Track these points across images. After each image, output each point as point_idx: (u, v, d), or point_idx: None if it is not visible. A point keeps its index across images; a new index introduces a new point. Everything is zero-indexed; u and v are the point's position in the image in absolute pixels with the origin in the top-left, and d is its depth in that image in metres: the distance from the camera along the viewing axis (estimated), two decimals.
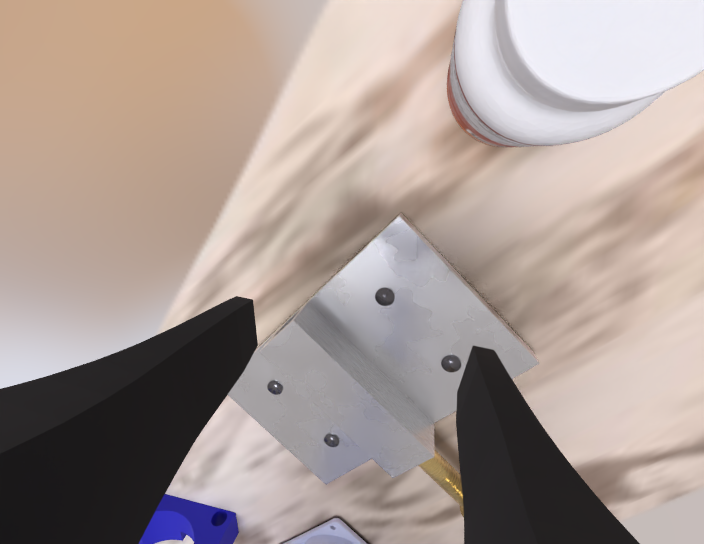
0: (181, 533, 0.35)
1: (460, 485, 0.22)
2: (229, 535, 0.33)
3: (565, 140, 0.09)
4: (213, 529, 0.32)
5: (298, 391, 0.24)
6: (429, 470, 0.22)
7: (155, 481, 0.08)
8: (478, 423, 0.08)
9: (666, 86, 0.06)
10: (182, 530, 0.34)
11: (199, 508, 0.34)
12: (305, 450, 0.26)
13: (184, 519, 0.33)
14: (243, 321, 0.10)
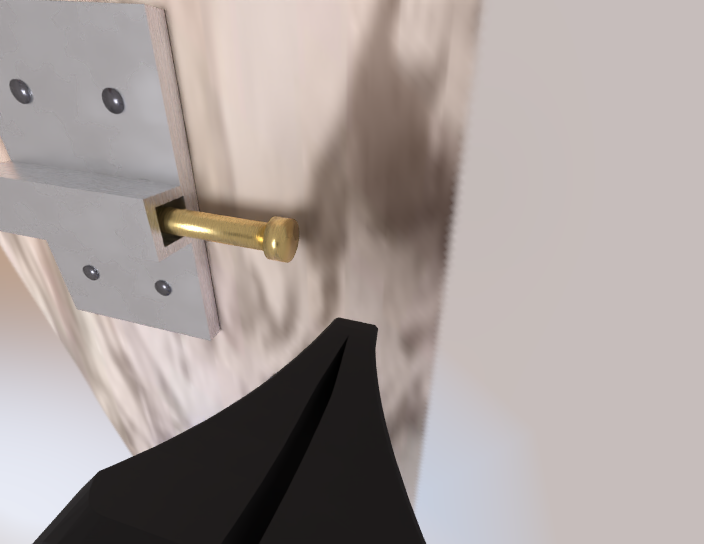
0: None
1: (230, 224, 0.17)
2: None
3: None
4: None
5: (101, 260, 0.23)
6: (189, 230, 0.18)
7: None
8: None
9: None
10: None
11: None
12: (165, 317, 0.24)
13: None
14: None
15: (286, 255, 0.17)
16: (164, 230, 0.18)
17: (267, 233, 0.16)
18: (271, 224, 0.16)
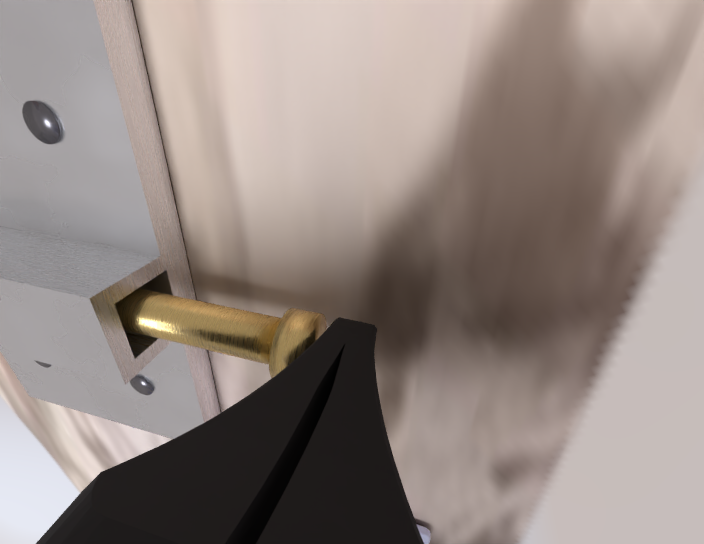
0: None
1: (215, 323, 0.10)
2: None
3: None
4: None
5: None
6: (149, 330, 0.11)
7: None
8: None
9: None
10: None
11: None
12: (148, 418, 0.17)
13: None
14: None
15: None
16: None
17: (277, 348, 0.09)
18: (283, 331, 0.10)
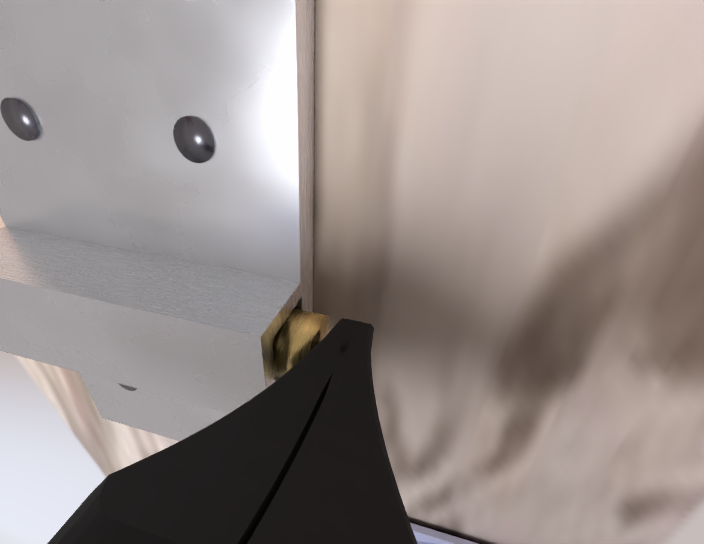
0: None
1: None
2: None
3: None
4: None
5: None
6: None
7: None
8: None
9: None
10: None
11: None
12: None
13: None
14: None
15: None
16: None
17: (282, 350, 0.09)
18: (288, 332, 0.10)
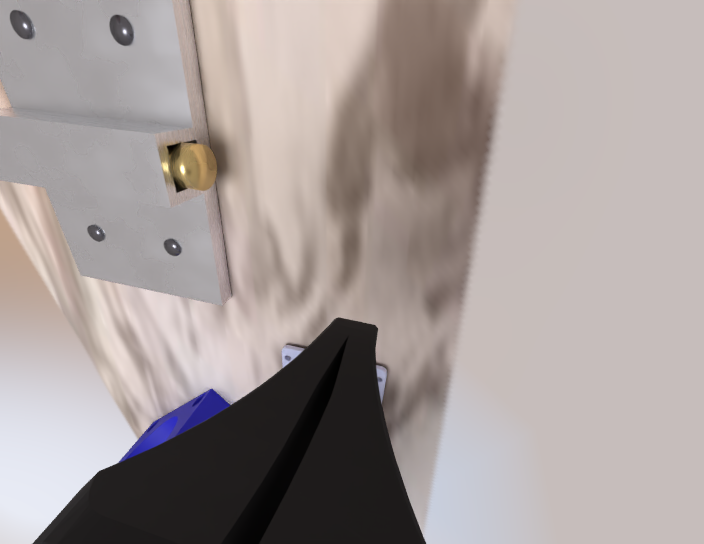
0: None
1: None
2: (213, 408, 0.29)
3: None
4: (191, 409, 0.29)
5: (107, 218, 0.22)
6: None
7: None
8: None
9: None
10: None
11: (187, 404, 0.32)
12: (174, 281, 0.23)
13: None
14: None
15: (197, 181, 0.17)
16: None
17: (174, 156, 0.16)
18: (179, 147, 0.16)
